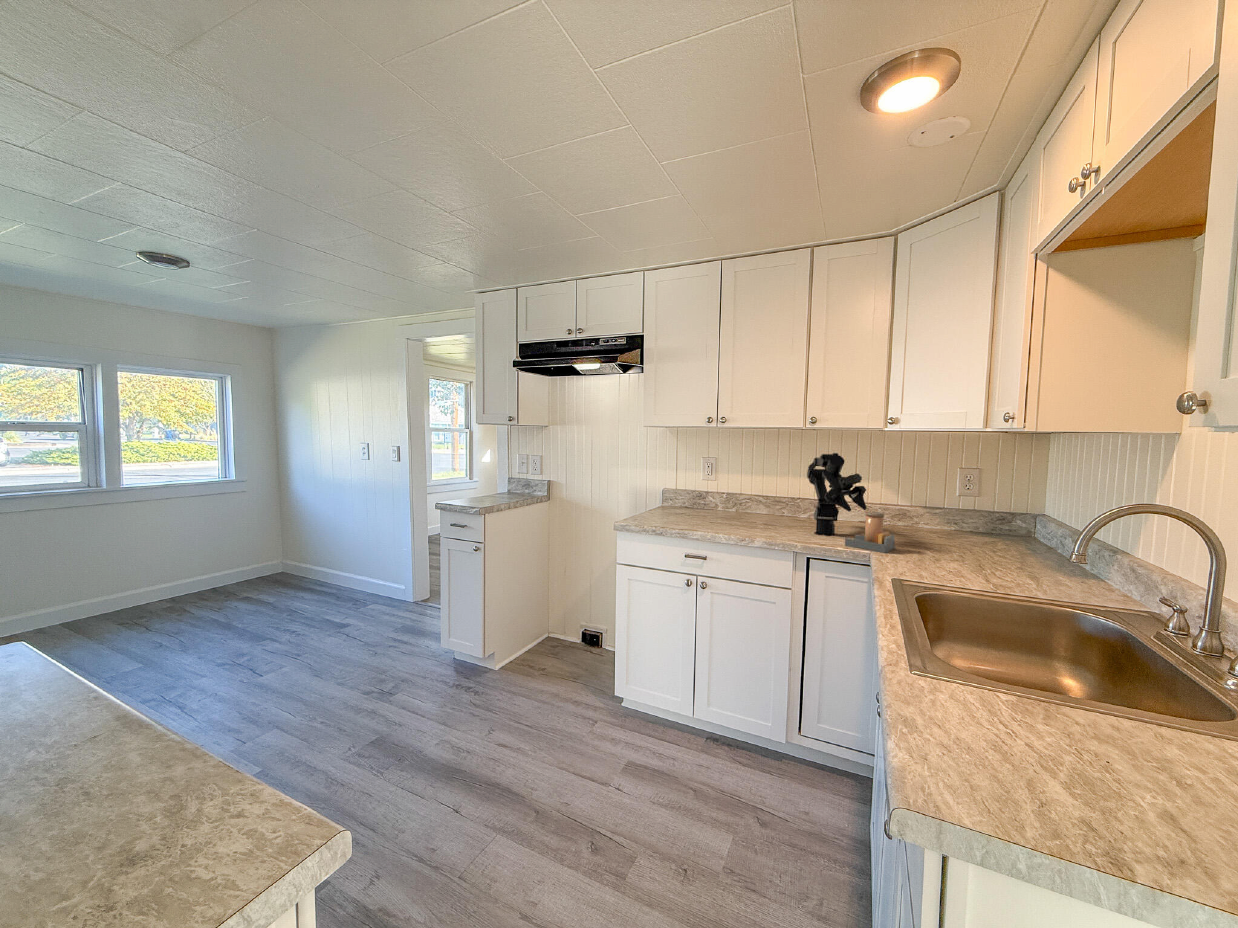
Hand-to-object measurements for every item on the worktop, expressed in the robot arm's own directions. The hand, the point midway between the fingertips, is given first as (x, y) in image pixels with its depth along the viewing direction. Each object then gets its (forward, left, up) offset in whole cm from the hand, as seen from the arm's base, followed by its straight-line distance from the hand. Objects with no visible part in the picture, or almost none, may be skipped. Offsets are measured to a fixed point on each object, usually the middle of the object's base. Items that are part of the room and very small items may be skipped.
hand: (858, 510), depth 192 cm
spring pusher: (+11, -2, -13) cm, 17 cm away
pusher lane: (+6, -2, -14) cm, 15 cm away
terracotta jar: (+7, -2, -13) cm, 15 cm away
